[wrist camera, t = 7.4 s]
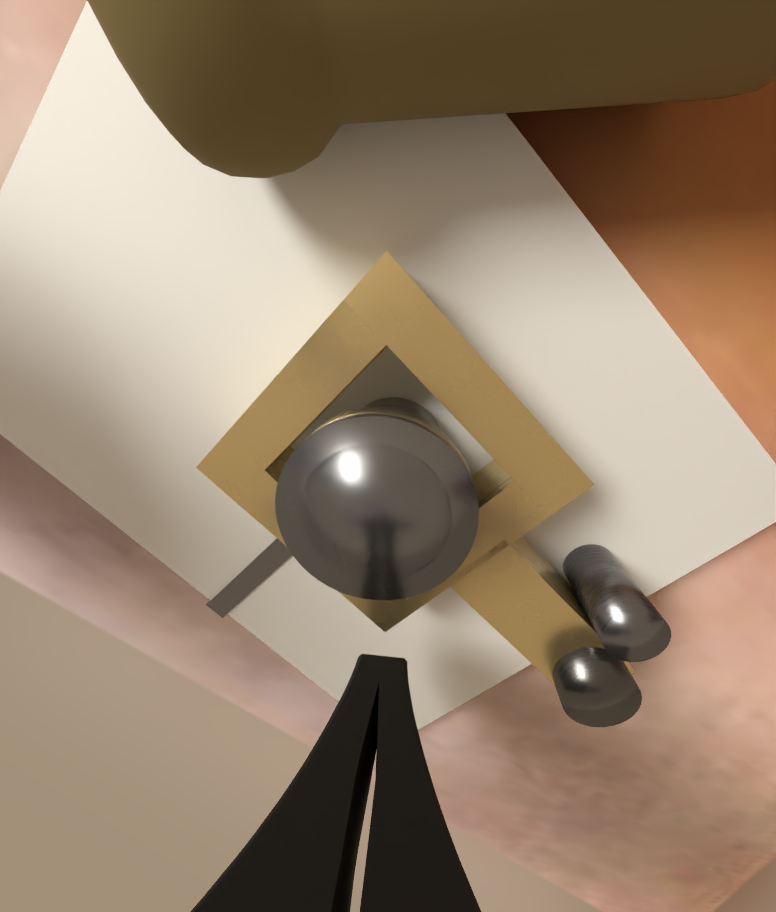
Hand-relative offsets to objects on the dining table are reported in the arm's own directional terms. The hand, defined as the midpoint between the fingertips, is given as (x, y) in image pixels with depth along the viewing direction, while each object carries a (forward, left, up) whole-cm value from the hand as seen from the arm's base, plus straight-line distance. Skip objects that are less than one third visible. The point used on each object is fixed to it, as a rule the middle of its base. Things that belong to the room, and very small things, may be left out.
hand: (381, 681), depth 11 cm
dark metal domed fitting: (-1, +1, -3) cm, 3 cm away
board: (-6, +4, -4) cm, 8 cm away
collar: (-1, +4, -3) cm, 5 cm away
